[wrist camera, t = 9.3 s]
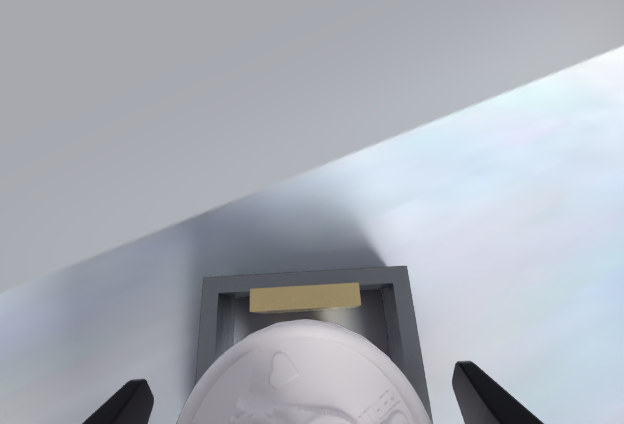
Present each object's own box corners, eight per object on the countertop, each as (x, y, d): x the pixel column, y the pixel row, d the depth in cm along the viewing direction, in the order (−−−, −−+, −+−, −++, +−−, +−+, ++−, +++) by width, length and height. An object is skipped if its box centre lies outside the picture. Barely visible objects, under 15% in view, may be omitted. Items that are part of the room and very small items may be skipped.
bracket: (419, 456, 14) (455, 504, 10) (212, 466, 14) (174, 518, 11) (392, 274, 17) (412, 261, 14) (222, 284, 17) (195, 274, 14)
